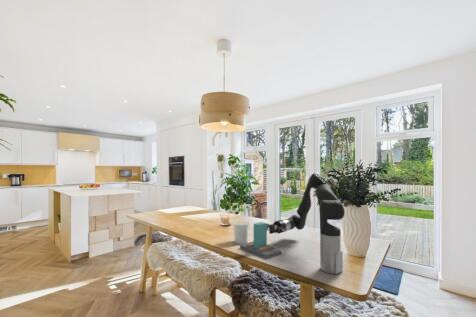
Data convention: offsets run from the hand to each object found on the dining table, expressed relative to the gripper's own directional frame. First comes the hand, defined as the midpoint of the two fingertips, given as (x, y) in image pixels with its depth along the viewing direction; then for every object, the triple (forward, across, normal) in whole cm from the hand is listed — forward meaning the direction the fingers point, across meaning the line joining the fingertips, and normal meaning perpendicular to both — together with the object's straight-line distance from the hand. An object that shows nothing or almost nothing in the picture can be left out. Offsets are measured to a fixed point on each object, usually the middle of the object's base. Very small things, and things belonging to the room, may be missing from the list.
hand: (264, 230), depth 146 cm
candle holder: (+1, -20, +12) cm, 23 cm away
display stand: (+4, 0, +11) cm, 12 cm away
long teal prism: (+4, 0, +9) cm, 10 cm away
